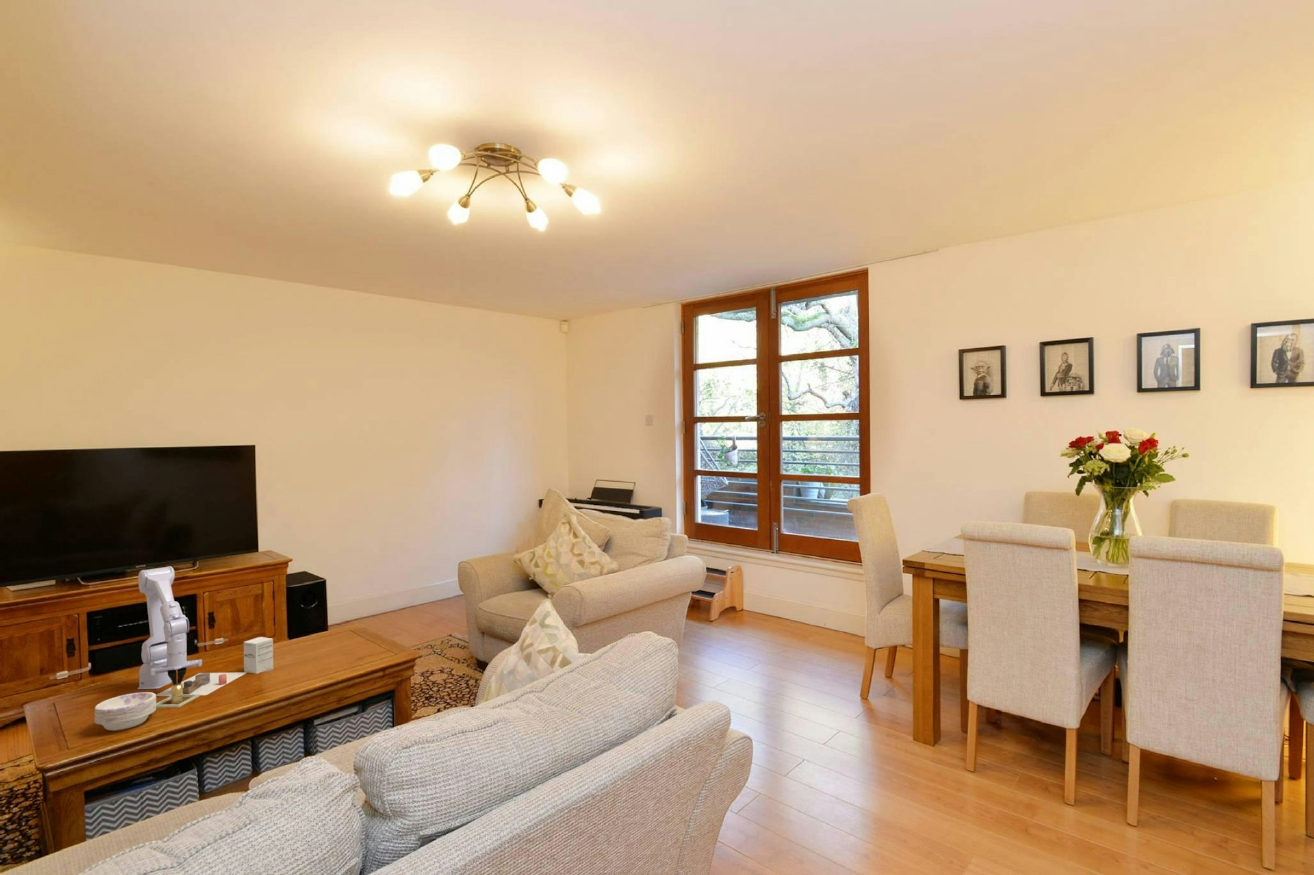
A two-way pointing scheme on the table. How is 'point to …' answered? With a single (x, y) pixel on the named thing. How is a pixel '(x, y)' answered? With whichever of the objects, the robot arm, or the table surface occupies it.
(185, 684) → the crank
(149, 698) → the paper bowls
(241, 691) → the table surface
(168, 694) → the board
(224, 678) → the post
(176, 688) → the pin
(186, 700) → the tray
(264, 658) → the supplement box
